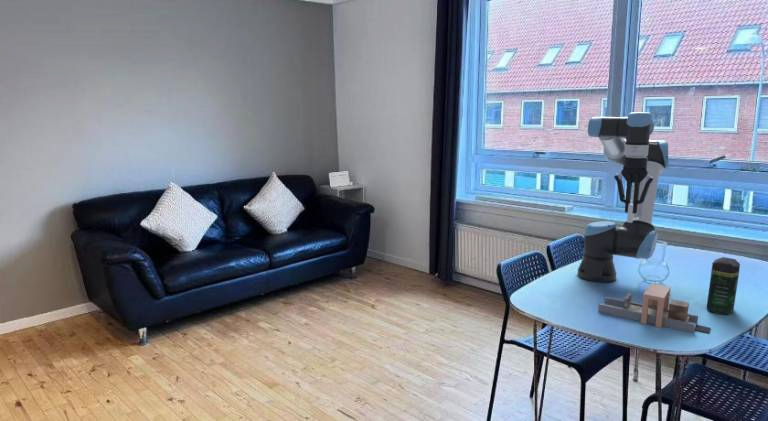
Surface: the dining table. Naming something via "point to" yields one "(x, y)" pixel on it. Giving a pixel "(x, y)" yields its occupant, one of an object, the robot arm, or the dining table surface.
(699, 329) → the dark grey flat block
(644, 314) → the tunnel
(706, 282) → the dining table surface
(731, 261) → the coffee jar
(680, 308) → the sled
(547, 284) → the dining table surface
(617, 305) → the rail
